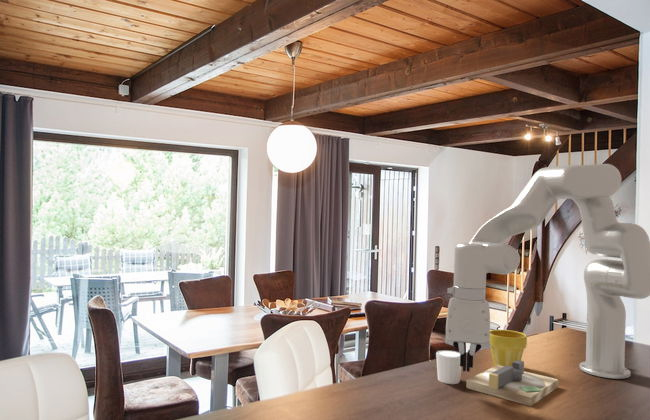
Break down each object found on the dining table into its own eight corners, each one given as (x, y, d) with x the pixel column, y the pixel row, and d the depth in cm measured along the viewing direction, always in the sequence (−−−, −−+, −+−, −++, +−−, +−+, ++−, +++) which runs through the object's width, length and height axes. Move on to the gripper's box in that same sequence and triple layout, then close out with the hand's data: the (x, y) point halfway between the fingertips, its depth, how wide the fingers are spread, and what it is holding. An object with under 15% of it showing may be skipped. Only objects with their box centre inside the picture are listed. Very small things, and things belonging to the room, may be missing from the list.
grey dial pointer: (511, 371, 132) (512, 358, 132) (528, 375, 129) (529, 362, 129) (483, 386, 120) (484, 372, 120) (501, 391, 117) (501, 377, 117)
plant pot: (503, 360, 151) (504, 327, 151) (533, 369, 142) (534, 335, 142) (479, 365, 145) (480, 331, 145) (510, 375, 136) (510, 339, 136)
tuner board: (497, 372, 139) (497, 364, 139) (559, 387, 128) (559, 378, 128) (466, 388, 126) (466, 379, 126) (532, 406, 115) (532, 396, 115)
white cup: (463, 386, 127) (464, 358, 127) (435, 383, 129) (436, 356, 129) (461, 377, 134) (462, 351, 134) (435, 374, 136) (435, 348, 136)
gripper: (436, 293, 120) (433, 370, 120) (502, 299, 116) (499, 378, 116) (438, 289, 127) (435, 362, 127) (500, 294, 123) (497, 369, 123)
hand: (466, 369), depth 122 cm, fingers closed
